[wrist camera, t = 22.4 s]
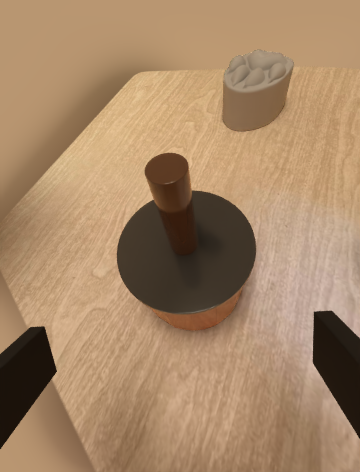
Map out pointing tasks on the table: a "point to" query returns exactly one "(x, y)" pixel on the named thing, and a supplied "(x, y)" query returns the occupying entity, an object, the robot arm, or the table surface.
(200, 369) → the table surface
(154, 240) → the lid
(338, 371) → the robot arm
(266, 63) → the lumpy-topped squat cylinder
